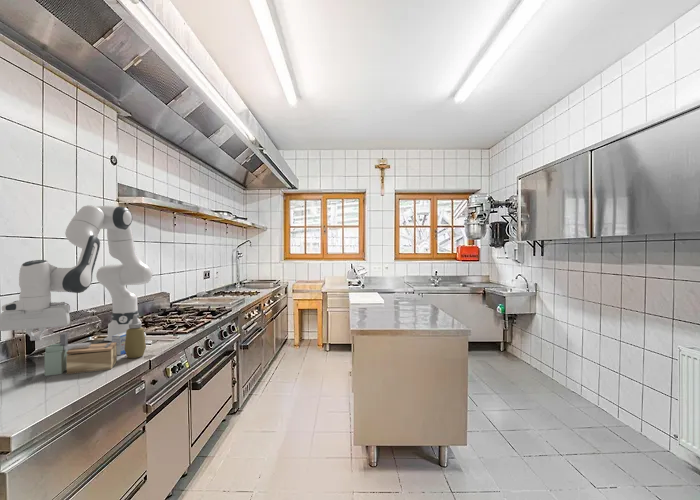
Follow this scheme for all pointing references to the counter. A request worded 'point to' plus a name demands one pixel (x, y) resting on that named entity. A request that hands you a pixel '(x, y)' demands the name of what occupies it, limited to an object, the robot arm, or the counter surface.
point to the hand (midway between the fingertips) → (36, 340)
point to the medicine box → (120, 342)
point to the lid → (94, 348)
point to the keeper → (55, 360)
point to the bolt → (71, 346)
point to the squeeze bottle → (135, 339)
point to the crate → (91, 361)
